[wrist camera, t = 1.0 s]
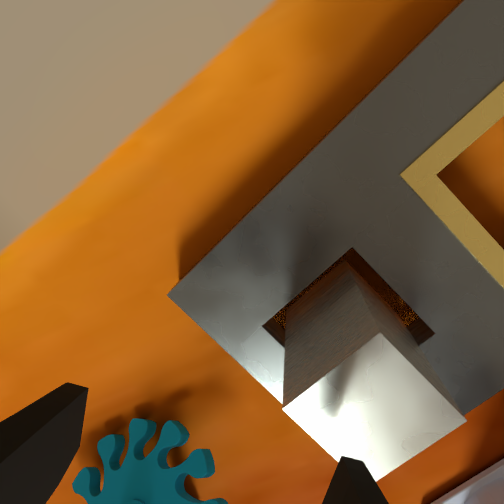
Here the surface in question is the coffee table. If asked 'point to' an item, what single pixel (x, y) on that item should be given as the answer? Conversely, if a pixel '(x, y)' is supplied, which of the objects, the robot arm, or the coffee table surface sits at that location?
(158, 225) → the coffee table surface
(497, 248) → the hole plate
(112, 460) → the teal lobed piece
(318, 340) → the steel peg
